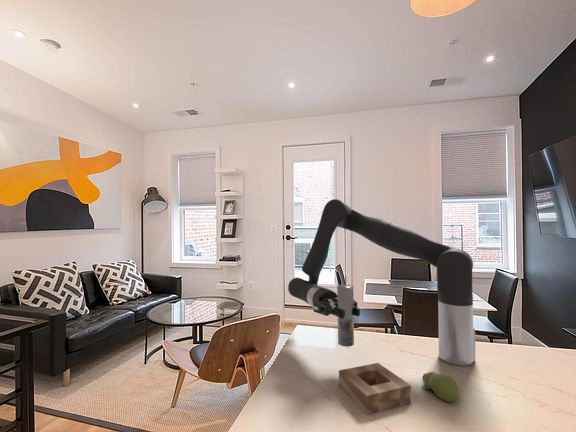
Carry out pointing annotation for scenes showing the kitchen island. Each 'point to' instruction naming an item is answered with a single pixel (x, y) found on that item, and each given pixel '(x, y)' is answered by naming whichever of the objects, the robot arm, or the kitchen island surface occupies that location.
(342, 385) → the socket block
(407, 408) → the kitchen island surface
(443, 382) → the green rounded lump
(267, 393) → the kitchen island surface
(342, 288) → the pin
